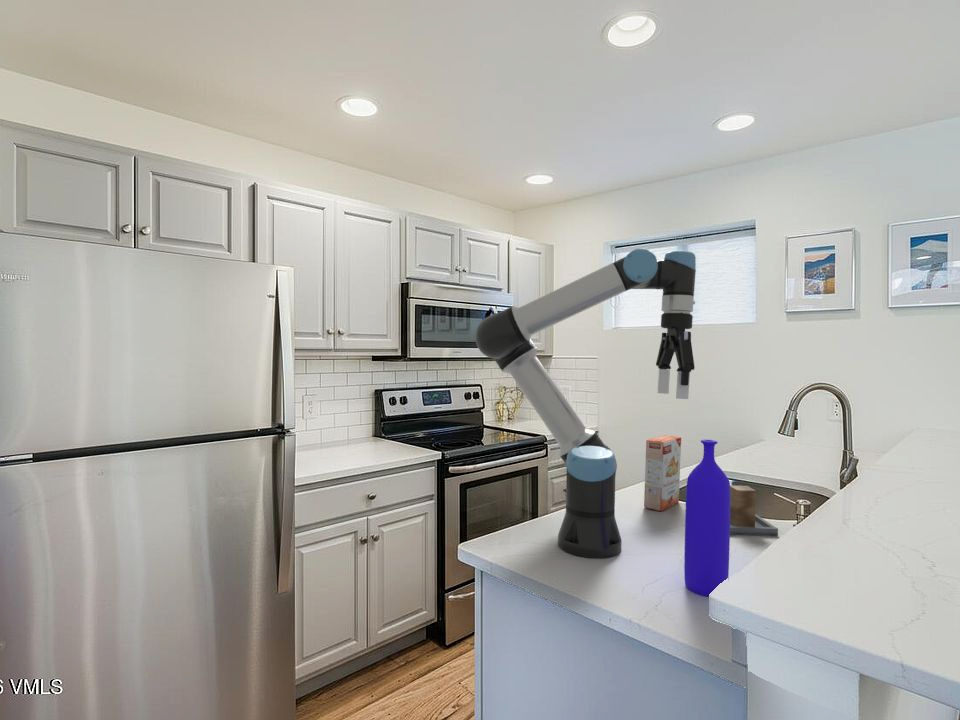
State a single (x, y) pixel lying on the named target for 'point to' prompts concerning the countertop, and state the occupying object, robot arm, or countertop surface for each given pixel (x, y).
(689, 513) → the bottle
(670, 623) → the countertop surface
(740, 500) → the walnut block
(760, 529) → the slate tray
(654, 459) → the cracker box
